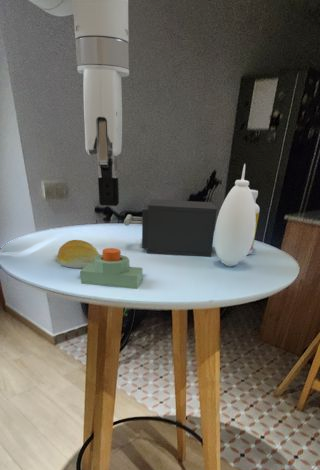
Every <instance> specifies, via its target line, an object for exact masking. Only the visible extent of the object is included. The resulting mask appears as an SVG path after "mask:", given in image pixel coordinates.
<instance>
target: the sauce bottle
mask: <svg viewBox="0 0 320 470" xmlns="http://www.w3.org/2000/svg"><path fill="white" fill-rule="evenodd" d="M245 175H246V163H244V164H243V168H242V172H241V178H240V179H236V180H235V182H234V186H232V188H231V189H230V191H229V192H228V193H227V195H226V197H225V199H224V200H223V202H222V205H221V207H220V209H219V211H218V215H217V217H216V221H215V229H214V237H213V243H214V244H213V245H214V250H215V253H216V256H217V258H218V259H219V260H221V263H222V264H224V265H225V266H226V267H234V266H235V265H236V266H237V265H239V263H240V262H242V261H244V260H245V258H246V257H247V256H248V255H247V254H248V252H249V250H250V248H251V245H252V242H253V239H254V234H255V235H256V233H255V226H256V213H255V205H254V200H253V196H252V193H251V190H252V189H250V188H251V187H250V181H249V180H246V179H245ZM254 240H255V239H254Z"/></svg>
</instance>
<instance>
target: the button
mask: <svg viewBox="0 0 320 470" xmlns="http://www.w3.org/2000/svg"><path fill="white" fill-rule="evenodd" d="M102 255H103V260H104V261H120V255H121V250H120V248H114V247H107V248H103V249H102Z"/></svg>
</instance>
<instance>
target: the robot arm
mask: <svg viewBox="0 0 320 470" xmlns="http://www.w3.org/2000/svg"><path fill="white" fill-rule="evenodd" d="M27 1H28V2H30V3H32V4H33V5H35V7H37V8H39V9H40V10H42V11H44V12H46V13H47V14H49V15H51V16H54V17H68V16H71V15H73V26H74V39H75V55H76V66H77V67H76V70H77V73H78V74H80V75H83V76H82V79H83V80H82V82H83V85H82V87H83V88H82V92H83V93H82V94H83V96H82V97H83V98H82V99H83V121H84V144H85V145H84V146H85V152H86V153H87V155H88V156H95V155H96V159H97V160H96V161H97V173H98V178H97V185H98V202H99V203H98V204H99V205H100V206H105V207H106V206H108V207H117V206H118V205H119V204H120V197H119V196H120V194H119V177H118V156H119V155H120V154H121V153H122V149H123V89H122V86H123V85H122V78H127V77H129V76H130V44H129V43H130V39H129V33H130V31H129V29H130V28H129V0H27Z"/></svg>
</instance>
